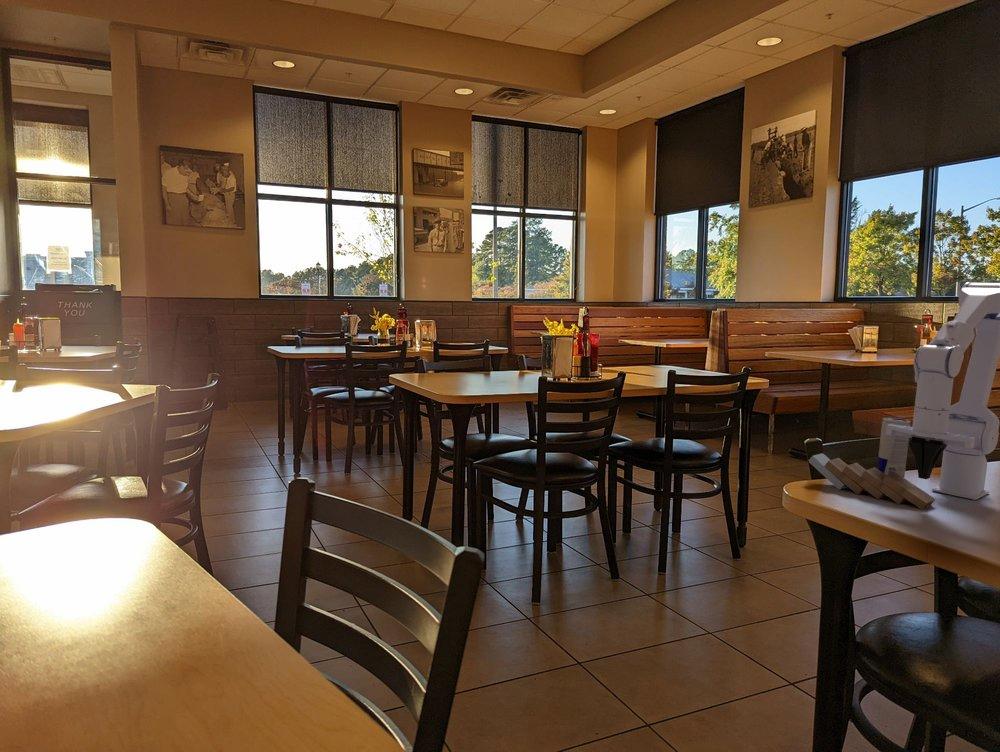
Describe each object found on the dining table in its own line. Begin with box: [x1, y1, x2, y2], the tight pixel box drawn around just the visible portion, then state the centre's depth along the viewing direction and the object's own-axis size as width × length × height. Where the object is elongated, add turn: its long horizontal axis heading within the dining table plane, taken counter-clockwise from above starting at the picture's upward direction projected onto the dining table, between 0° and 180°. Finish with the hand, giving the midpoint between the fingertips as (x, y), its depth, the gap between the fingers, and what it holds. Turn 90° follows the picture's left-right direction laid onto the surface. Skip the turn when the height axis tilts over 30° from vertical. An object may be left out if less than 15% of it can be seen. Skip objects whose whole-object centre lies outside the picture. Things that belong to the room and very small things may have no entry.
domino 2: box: [824, 457, 867, 495], centre depth 144 cm, size 5×2×8 cm
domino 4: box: [861, 466, 908, 505], centre depth 138 cm, size 5×2×8 cm
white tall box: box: [877, 417, 911, 478], centre depth 144 cm, size 5×5×15 cm
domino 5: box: [882, 472, 936, 511], centre depth 135 cm, size 5×2×8 cm
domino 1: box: [807, 453, 849, 491], centre depth 146 cm, size 5×2×8 cm
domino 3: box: [842, 462, 888, 500], centre depth 141 cm, size 5×2×8 cm
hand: (924, 477), depth 133 cm, fingers closed
